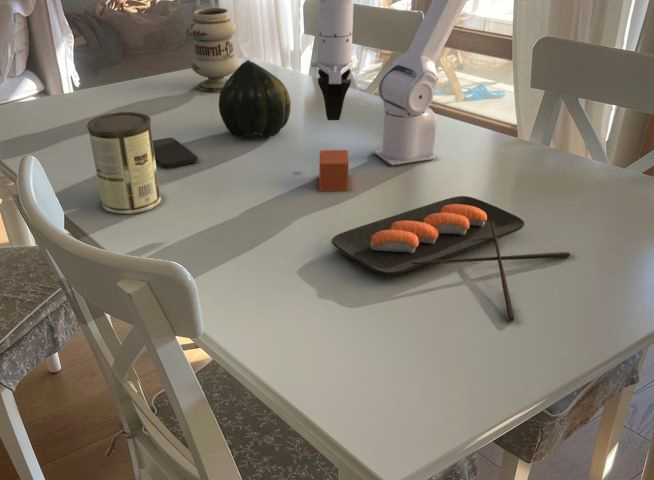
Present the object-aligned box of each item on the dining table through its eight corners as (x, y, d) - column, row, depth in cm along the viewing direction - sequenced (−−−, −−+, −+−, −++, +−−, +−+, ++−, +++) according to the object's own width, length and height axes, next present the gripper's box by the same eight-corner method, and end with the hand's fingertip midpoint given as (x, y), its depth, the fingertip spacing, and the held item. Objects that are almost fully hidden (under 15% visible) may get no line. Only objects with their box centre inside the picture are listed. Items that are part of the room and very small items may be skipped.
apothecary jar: (188, 92, 179) (180, 15, 169) (199, 80, 189) (193, 6, 179) (234, 93, 177) (230, 15, 167) (244, 81, 187) (240, 6, 177)
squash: (272, 124, 140) (284, 52, 141) (202, 121, 144) (214, 51, 145) (290, 152, 153) (301, 87, 154) (226, 149, 157) (237, 85, 159)
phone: (172, 136, 149) (199, 157, 138) (173, 140, 150) (199, 161, 138) (138, 143, 146) (163, 164, 135) (139, 147, 147) (163, 169, 136)
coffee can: (119, 188, 129) (107, 109, 121) (170, 194, 126) (161, 114, 118) (89, 210, 121) (74, 128, 113) (143, 217, 118) (131, 133, 110)
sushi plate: (463, 203, 120) (466, 181, 117) (619, 274, 99) (626, 249, 96) (322, 249, 107) (323, 226, 105) (467, 341, 86) (472, 315, 84)
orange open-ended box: (347, 190, 125) (348, 163, 122) (319, 190, 126) (319, 163, 123) (346, 176, 131) (347, 150, 128) (319, 176, 131) (319, 150, 128)
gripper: (312, 25, 125) (311, 103, 133) (310, 43, 114) (310, 128, 121) (352, 25, 125) (349, 103, 133) (355, 43, 113) (351, 128, 121)
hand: (333, 115), depth 127 cm, fingers open, 4 cm apart
